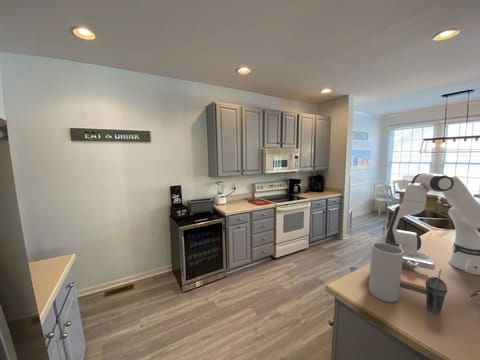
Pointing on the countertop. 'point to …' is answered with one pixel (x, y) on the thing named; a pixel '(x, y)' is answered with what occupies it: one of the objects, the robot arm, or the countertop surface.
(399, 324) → the countertop surface
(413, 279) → the tile
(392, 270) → the cylinder vase
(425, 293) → the mat
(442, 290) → the beverage cup
